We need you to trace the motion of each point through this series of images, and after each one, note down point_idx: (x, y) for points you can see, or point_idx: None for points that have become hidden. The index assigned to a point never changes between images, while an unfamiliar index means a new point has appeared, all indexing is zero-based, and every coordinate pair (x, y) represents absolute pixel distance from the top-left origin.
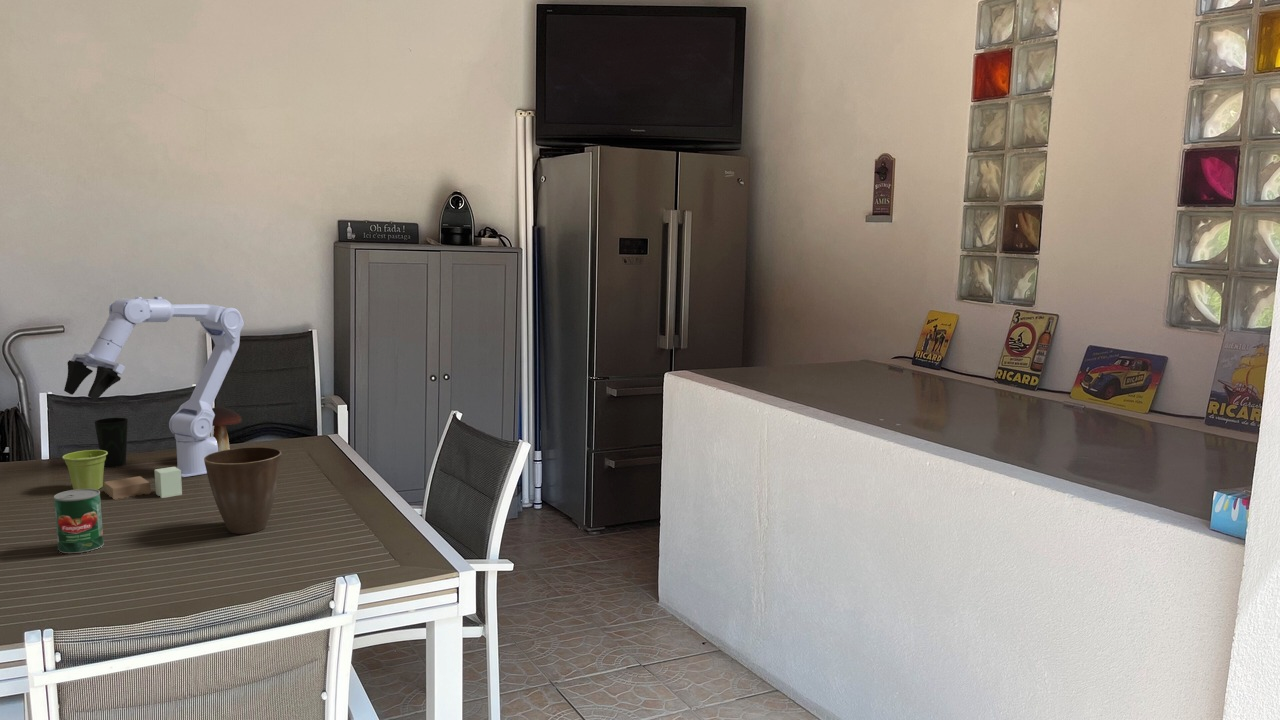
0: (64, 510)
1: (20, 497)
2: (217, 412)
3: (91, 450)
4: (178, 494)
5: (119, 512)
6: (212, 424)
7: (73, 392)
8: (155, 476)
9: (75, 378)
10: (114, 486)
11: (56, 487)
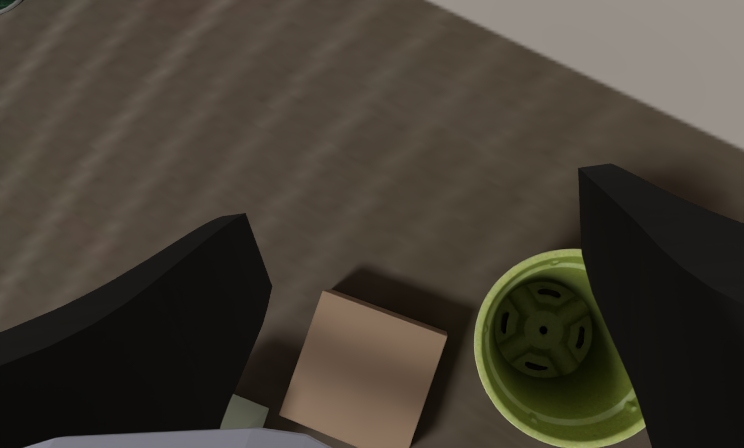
0: None
1: (646, 137)
2: None
3: (640, 421)
4: None
5: (182, 206)
6: None
7: (587, 266)
8: (238, 424)
9: (641, 312)
10: (346, 313)
11: None
